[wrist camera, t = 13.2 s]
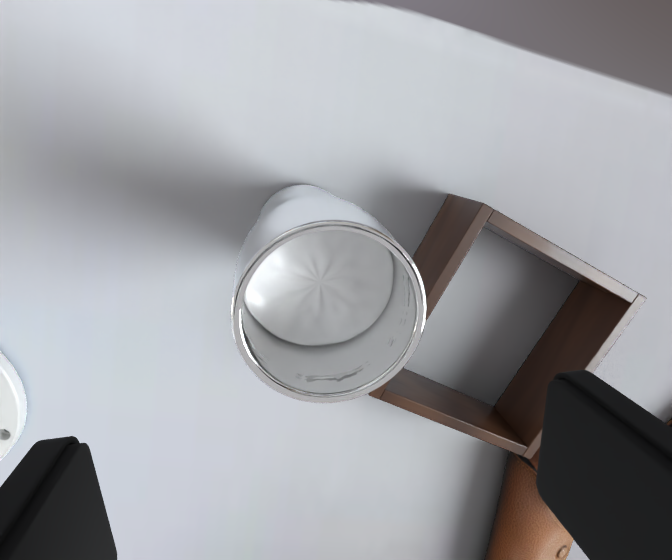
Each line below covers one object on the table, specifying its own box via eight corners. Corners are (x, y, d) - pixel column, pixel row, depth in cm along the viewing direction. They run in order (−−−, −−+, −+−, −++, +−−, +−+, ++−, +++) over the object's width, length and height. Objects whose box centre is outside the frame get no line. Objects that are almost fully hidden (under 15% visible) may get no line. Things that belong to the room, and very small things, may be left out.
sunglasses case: (549, 594, 42) (554, 664, 36) (476, 564, 44) (469, 625, 38) (596, 440, 37) (611, 493, 31) (510, 416, 39) (508, 461, 33)
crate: (354, 357, 32) (368, 395, 27) (449, 193, 29) (483, 202, 24) (496, 417, 35) (530, 459, 30) (593, 275, 32) (647, 298, 27)
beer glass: (260, 166, 26) (243, 190, 12) (365, 190, 28) (459, 237, 14) (241, 270, 28) (208, 396, 14) (341, 288, 30) (402, 419, 16)
